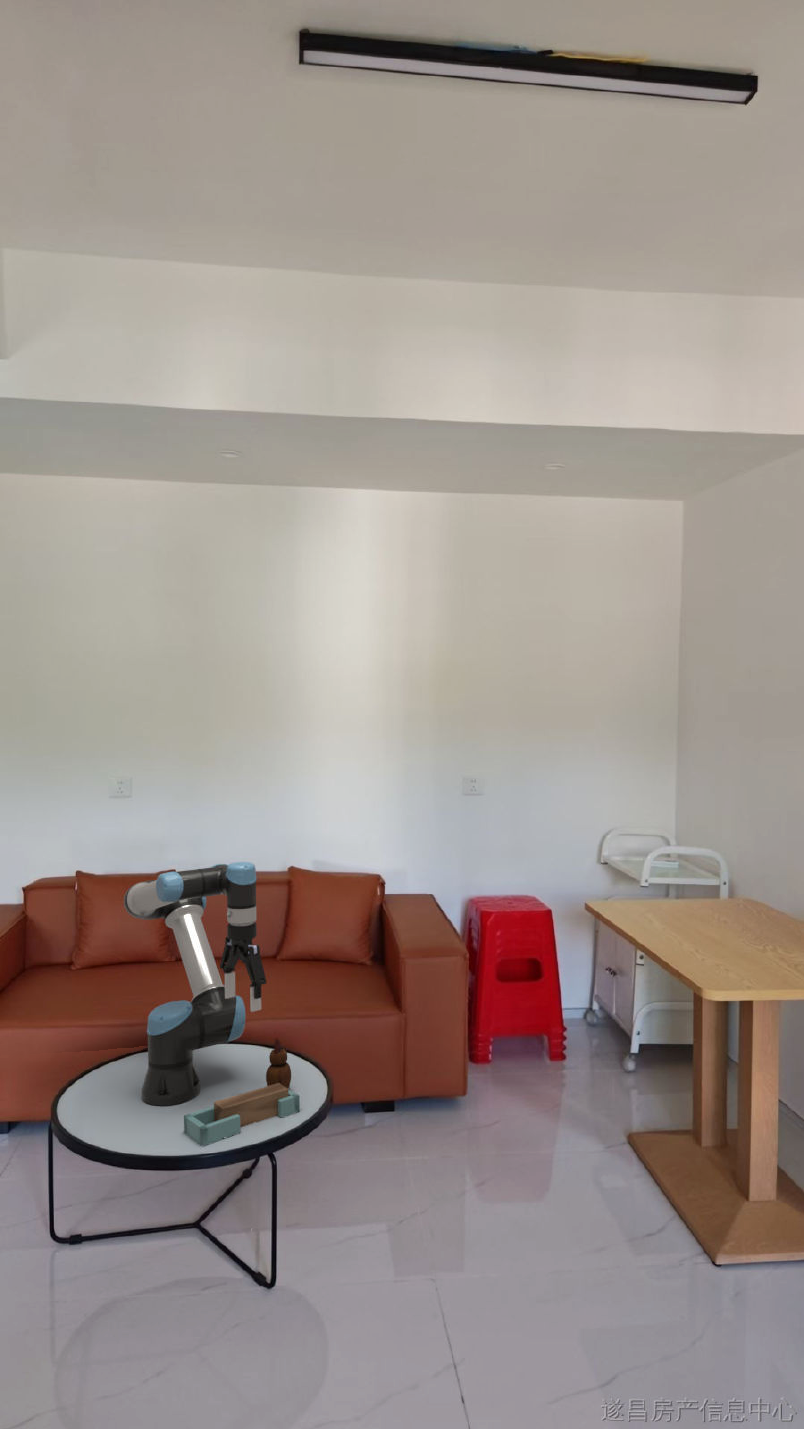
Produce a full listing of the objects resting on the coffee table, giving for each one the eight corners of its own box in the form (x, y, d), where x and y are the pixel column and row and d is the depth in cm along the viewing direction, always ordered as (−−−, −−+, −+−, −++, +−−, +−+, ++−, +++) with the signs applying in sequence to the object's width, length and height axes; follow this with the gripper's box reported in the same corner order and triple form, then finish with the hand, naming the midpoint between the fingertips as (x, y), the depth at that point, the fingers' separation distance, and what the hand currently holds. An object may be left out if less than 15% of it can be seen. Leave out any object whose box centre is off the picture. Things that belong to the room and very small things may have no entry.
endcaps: (184, 1132, 208) (183, 1115, 208) (279, 1099, 225) (279, 1084, 225) (202, 1146, 201) (202, 1129, 201) (299, 1111, 218) (299, 1095, 218)
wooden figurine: (279, 1098, 226) (277, 1041, 226) (262, 1094, 229) (261, 1037, 229) (295, 1089, 231) (294, 1033, 232) (279, 1085, 234) (277, 1030, 235)
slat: (214, 1126, 211) (213, 1101, 211) (279, 1106, 222) (279, 1082, 222) (222, 1133, 207) (222, 1108, 207) (288, 1112, 218) (288, 1089, 218)
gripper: (206, 916, 231) (207, 994, 231) (253, 934, 212) (254, 1019, 212) (231, 912, 236) (232, 989, 236) (279, 929, 217) (280, 1012, 217)
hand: (242, 1003), depth 224 cm, fingers open, 13 cm apart
